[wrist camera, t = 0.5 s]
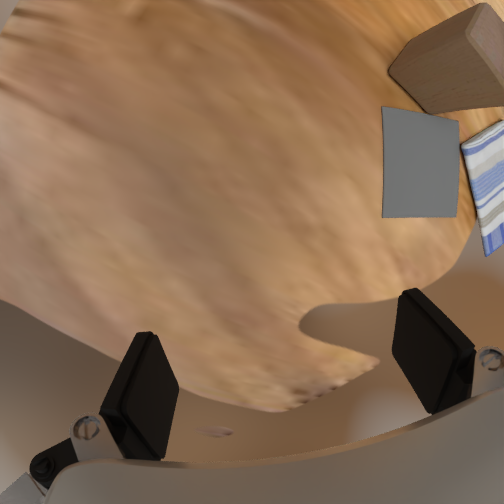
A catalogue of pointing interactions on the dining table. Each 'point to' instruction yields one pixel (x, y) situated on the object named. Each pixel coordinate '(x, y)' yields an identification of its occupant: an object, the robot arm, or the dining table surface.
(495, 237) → the dish towel
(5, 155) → the dining table surface
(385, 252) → the dining table surface
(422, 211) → the mat
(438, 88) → the wooden block
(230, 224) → the dining table surface
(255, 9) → the dining table surface
